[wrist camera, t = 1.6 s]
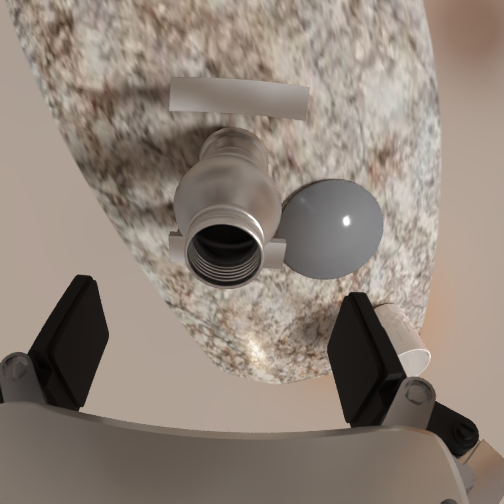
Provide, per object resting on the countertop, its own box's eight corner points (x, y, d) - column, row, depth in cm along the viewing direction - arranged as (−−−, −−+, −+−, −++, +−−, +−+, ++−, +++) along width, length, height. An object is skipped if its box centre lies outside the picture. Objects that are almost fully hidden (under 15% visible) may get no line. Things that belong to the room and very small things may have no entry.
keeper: (190, 78, 27) (170, 77, 19) (291, 86, 28) (309, 87, 20) (185, 219, 35) (169, 261, 27) (273, 225, 35) (282, 268, 28)
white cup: (352, 315, 43) (372, 368, 35) (399, 291, 41) (427, 340, 33) (366, 344, 47) (384, 393, 38) (409, 322, 45) (433, 368, 36)
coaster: (285, 172, 32) (285, 174, 32) (393, 187, 33) (395, 189, 33) (270, 274, 39) (270, 277, 38) (365, 278, 40) (367, 281, 39)
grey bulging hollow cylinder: (242, 195, 34) (244, 330, 16) (189, 161, 31) (129, 269, 14) (279, 148, 31) (328, 245, 14) (225, 111, 29) (199, 156, 12)
